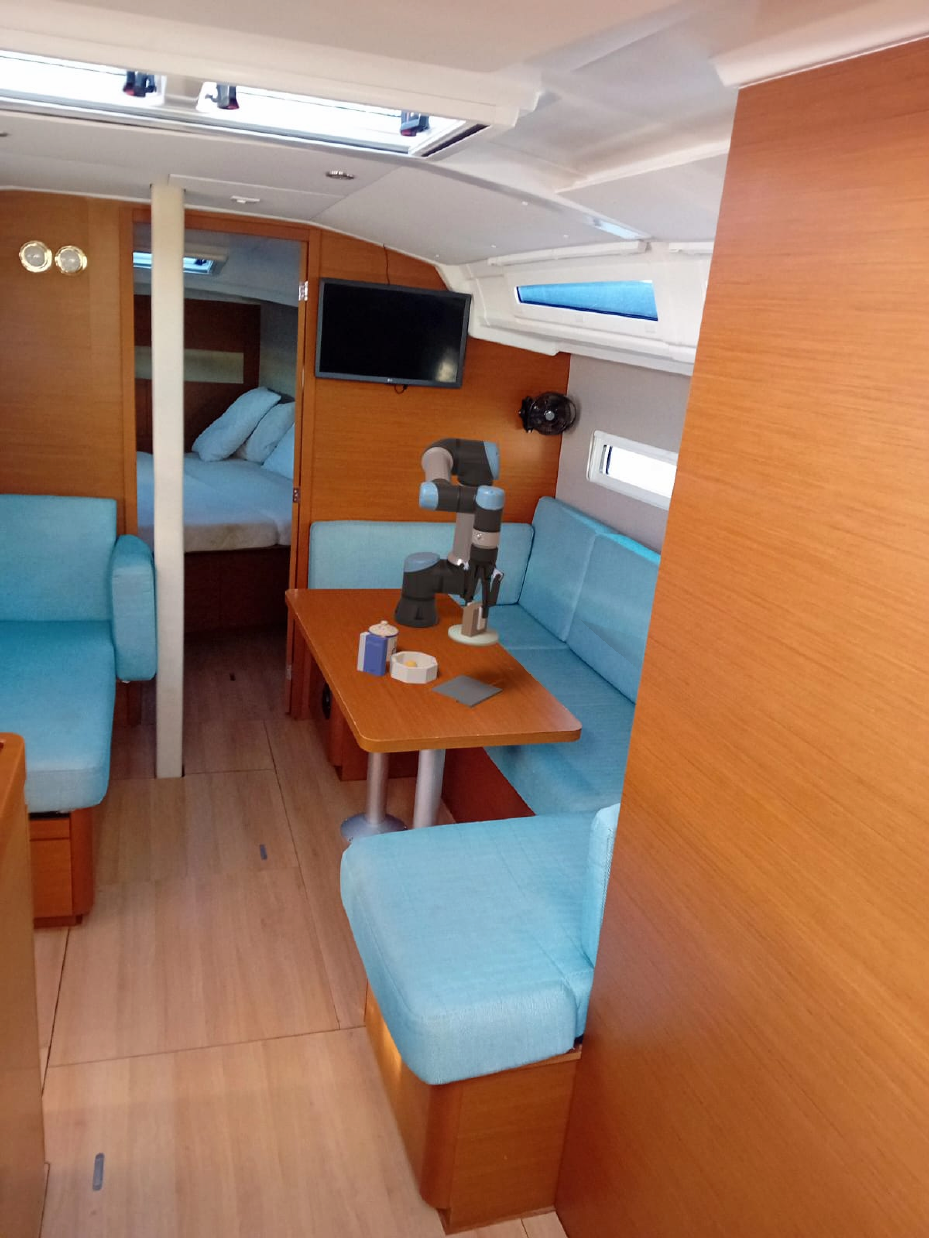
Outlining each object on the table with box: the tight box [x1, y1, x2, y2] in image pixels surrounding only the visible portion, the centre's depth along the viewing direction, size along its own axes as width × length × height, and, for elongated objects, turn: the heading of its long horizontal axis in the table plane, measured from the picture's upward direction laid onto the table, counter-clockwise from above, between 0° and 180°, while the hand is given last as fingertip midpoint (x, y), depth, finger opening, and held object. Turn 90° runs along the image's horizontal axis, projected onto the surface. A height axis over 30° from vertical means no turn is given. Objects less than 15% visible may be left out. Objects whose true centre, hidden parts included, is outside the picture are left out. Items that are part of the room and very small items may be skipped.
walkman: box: [356, 631, 388, 677], centre depth 267 cm, size 8×3×12 cm, turn 64°
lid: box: [447, 600, 500, 647], centre depth 258 cm, size 14×14×9 cm
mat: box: [430, 674, 503, 708], centre depth 265 cm, size 16×14×1 cm
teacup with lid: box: [367, 620, 400, 662], centre depth 281 cm, size 12×9×12 cm
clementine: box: [405, 661, 418, 667], centre depth 270 cm, size 4×4×4 cm
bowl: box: [388, 650, 439, 685], centre depth 270 cm, size 13×13×5 cm
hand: (474, 626), depth 258 cm, fingers closed on lid, 3 cm apart
